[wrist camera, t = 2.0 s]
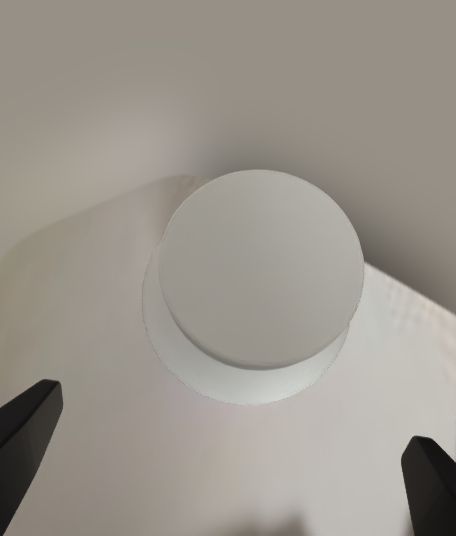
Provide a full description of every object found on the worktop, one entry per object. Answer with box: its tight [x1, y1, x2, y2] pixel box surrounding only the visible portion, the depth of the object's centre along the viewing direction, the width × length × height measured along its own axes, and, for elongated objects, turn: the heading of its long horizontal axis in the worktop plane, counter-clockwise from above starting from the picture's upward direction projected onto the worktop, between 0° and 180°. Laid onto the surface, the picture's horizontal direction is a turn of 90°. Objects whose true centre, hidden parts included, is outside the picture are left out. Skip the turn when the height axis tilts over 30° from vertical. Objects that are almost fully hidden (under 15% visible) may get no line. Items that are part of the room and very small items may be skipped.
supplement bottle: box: [142, 169, 364, 405], centre depth 14 cm, size 7×7×13 cm
